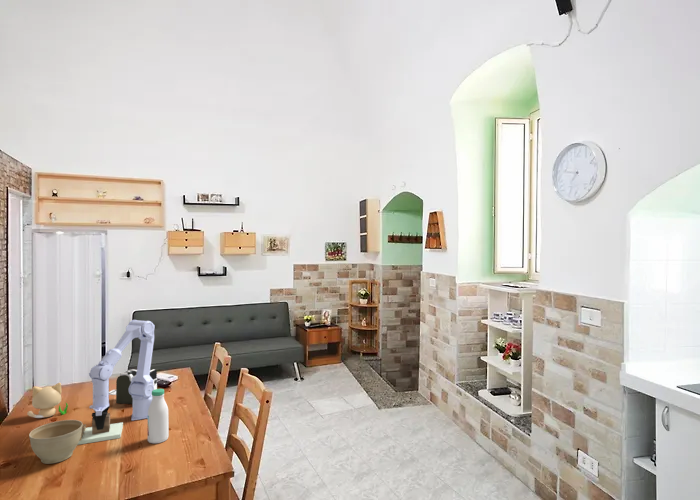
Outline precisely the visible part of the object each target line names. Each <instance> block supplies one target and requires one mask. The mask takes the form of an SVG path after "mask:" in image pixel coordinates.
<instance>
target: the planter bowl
mask: <svg viewBox="0 0 700 500" xmlns="http://www.w3.org/2000/svg"><path fill="white" fill-rule="evenodd" d="M83 425H84V424H83V421H81V420H78V419H63V420H57V421H54V422H52V421H51V422H49V423H46V424H43V425H40V426H38V427H36V428H34V429H32V430H31V431H30V433H29V434H28V435H29V436H28V437H29V440H30V441H29V443H30V446H31V449H32V451H33V453H34V454H35V455H36V457H38V458H39V459H40V461H41V463H43V464H45V465H50V464H52V465H53V464H57V463H61V462H63V461H66V460H68V459H69V458H71V456H73V453H74V451H75V449H76V448H77V446H78V445H77V444H78V442H79V440H80V437H81V433H82V426H83Z"/></svg>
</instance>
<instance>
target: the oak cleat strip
mask: <svg viewBox="0 0 700 500" xmlns="http://www.w3.org/2000/svg"><path fill="white" fill-rule="evenodd" d="M86 428H87V424H83V426H82V433H81V437H80V440H79V441H81V439H82V436H83V434H84V431H85V429H86Z"/></svg>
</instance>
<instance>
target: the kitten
mask: <svg viewBox="0 0 700 500" xmlns="http://www.w3.org/2000/svg"><path fill="white" fill-rule="evenodd" d="M31 396H32V400H31V401H32V402H31V405H32V407H33V408H34V409H38V410H39V411H38V414H36V413H34V412H33V411H32V410H29V411H27V413H26V414H27V416H28V417H31V418H36V419H42V418H45V419H46V418H49V417H52V416H54V415H56V411H57V410H56V406H58V405H59V406H58V412H59V414H60V415H65V414H67V413H68V412H67V410H68V407H69V404H68V403H67V402H65V407H64V409H63V410H62V409H61V405H60V403H61V402H62V383H61V382H58V383H56V384H54V385H52V386H51V385H47V386H43V387H40V386H36V385H35V386H34V385H33V387H32V395H31Z"/></svg>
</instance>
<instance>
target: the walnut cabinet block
mask: <svg viewBox="0 0 700 500" xmlns="http://www.w3.org/2000/svg"><path fill="white" fill-rule="evenodd" d="M110 424H111V412H108V413H107V415H106V418H105V422H104V427H103V429H101V430H97V428H96V424H95V420H94V419H93V417H91V427H92V434H98V433H105V432H109V430H110Z"/></svg>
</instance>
